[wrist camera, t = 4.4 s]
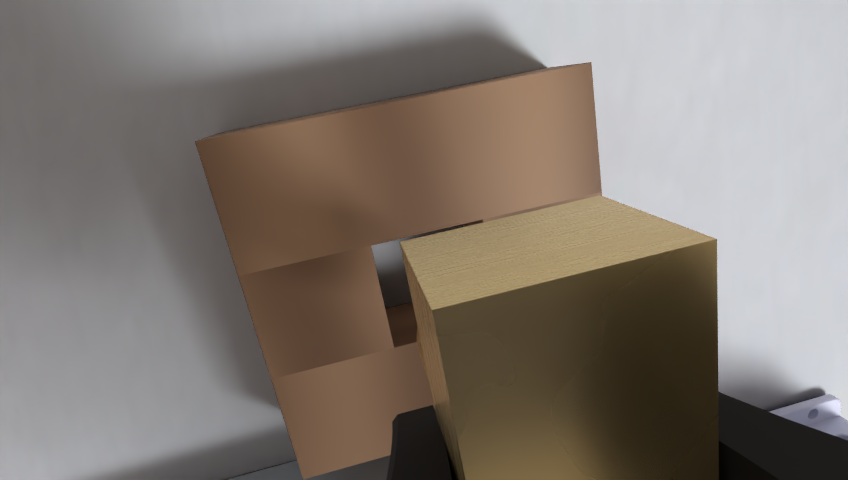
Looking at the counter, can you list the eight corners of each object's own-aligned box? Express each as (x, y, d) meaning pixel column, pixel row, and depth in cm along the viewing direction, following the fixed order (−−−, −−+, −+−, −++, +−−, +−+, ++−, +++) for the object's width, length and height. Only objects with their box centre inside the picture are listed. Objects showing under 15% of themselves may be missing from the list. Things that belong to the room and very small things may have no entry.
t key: (540, 453, 13) (721, 765, 7) (438, 483, 13) (535, 834, 7) (498, 157, 11) (716, 238, 5) (372, 184, 11) (431, 309, 4)
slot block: (548, 67, 17) (591, 62, 14) (577, 350, 20) (617, 391, 18) (219, 133, 16) (194, 141, 13) (307, 422, 19) (303, 479, 16)
